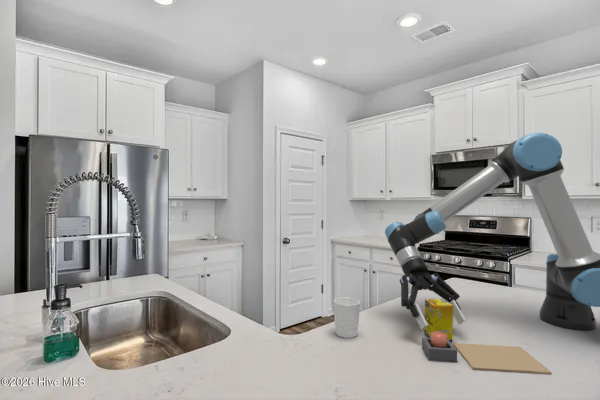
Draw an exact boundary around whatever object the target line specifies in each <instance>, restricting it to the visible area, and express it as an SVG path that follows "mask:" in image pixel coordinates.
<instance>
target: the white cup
mask: <svg viewBox="0 0 600 400" xmlns="http://www.w3.org/2000/svg"><path fill="white" fill-rule="evenodd" d="M360 306H361V301H360V300H359V299H356V298H354V297H346V296H345V297H336V298H335V299H334V300H333V311H334V312H333V313H334V314H333V315H334V317H333V318H334V333H335V335H336V336H338V337H340V338H344V339H351V338H352V339H353V338H356V337H357V336H358V334H359V331H358V329H359V322H360V309H361V307H360Z"/></svg>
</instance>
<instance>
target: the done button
mask: <svg viewBox="0 0 600 400" xmlns="http://www.w3.org/2000/svg"><path fill="white" fill-rule="evenodd" d="M431 347H436V348H447V334H445V333H443V332H438V331H434V332H431Z"/></svg>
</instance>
